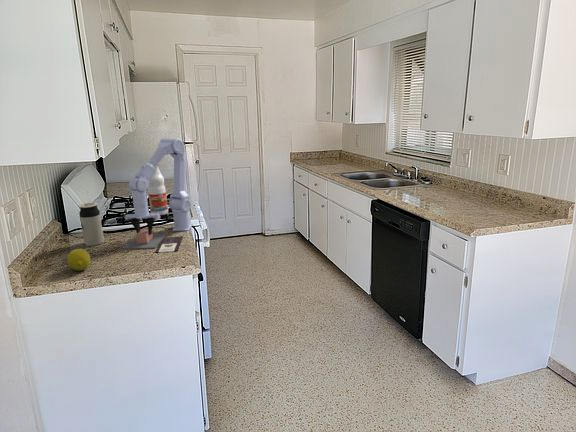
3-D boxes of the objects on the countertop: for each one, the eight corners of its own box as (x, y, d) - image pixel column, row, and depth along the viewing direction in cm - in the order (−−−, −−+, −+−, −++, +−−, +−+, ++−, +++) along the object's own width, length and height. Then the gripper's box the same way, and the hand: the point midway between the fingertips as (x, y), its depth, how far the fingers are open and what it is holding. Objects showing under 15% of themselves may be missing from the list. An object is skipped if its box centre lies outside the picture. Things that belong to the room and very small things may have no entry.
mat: (137, 235, 186) (137, 234, 186) (167, 234, 186) (166, 233, 186) (122, 249, 169) (122, 248, 169) (155, 248, 169) (154, 247, 169)
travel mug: (104, 239, 183) (98, 201, 178) (103, 244, 176) (97, 205, 171) (85, 241, 180) (78, 203, 175) (84, 247, 173) (76, 207, 168)
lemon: (91, 272, 147) (87, 252, 144) (67, 276, 144) (63, 256, 142) (92, 262, 156) (89, 243, 154) (70, 265, 153) (66, 246, 151)
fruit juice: (165, 210, 229) (159, 162, 221) (170, 213, 222) (165, 164, 214) (148, 213, 224) (142, 164, 216) (153, 216, 217) (147, 166, 209)
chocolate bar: (182, 236, 182) (177, 250, 165) (183, 238, 183) (177, 252, 165) (162, 237, 181) (155, 252, 164) (163, 239, 182) (155, 254, 164)
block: (147, 243, 173) (146, 234, 172) (137, 243, 173) (135, 235, 172) (153, 237, 181) (152, 228, 180) (143, 237, 181) (142, 229, 180)
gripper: (120, 207, 169) (125, 237, 173) (154, 206, 169) (158, 236, 173) (126, 203, 176) (131, 232, 180) (159, 202, 176) (163, 231, 180)
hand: (144, 234), depth 177 cm, fingers closed on block, 4 cm apart
